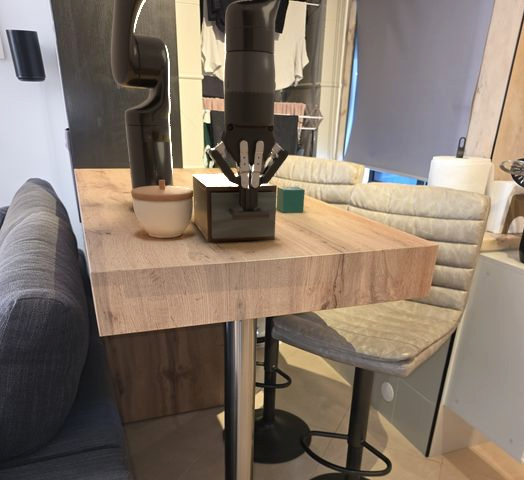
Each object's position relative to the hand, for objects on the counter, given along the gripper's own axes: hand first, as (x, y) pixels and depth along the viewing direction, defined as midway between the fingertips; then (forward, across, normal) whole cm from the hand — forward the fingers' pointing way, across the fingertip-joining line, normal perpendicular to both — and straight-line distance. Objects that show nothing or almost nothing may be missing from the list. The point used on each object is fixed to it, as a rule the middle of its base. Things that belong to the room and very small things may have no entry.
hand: (248, 210), depth 75 cm
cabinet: (+6, 0, -12) cm, 13 cm away
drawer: (+5, 0, -7) cm, 9 cm away
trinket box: (+6, +13, -11) cm, 18 cm away
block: (+6, -18, -30) cm, 35 cm away
